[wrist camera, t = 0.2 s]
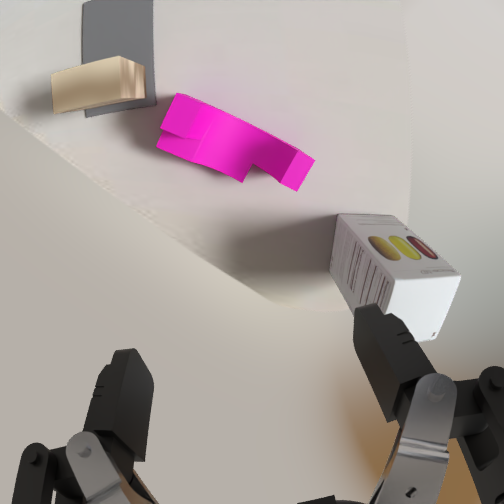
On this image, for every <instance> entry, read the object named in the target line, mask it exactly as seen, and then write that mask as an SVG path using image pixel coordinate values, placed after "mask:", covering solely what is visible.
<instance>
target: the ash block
mask: <svg viewBox="0 0 504 504" xmlns="http://www.w3.org/2000/svg"><path fill="white" fill-rule="evenodd" d="M51 85H52V101H53V113H54V114H58V113H64V112H70V111H77V110H84V109H92V108H97V107H102V106H106V105H111V104H116V103H122V102H127V101H133V100H139V99H145V98H147V93H146V75H145V66H143V65H141V64H138V63H136V62H133V61H131V60H128V59H126V58H123V57H121V56H115V57H111V58H106V59H102V60H98V61H94V62H91V63H87V64H83V65H80V66H76V67H73V68H69V69H66V70H63V71H60V72H57V73H54V74H51Z"/></svg>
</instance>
